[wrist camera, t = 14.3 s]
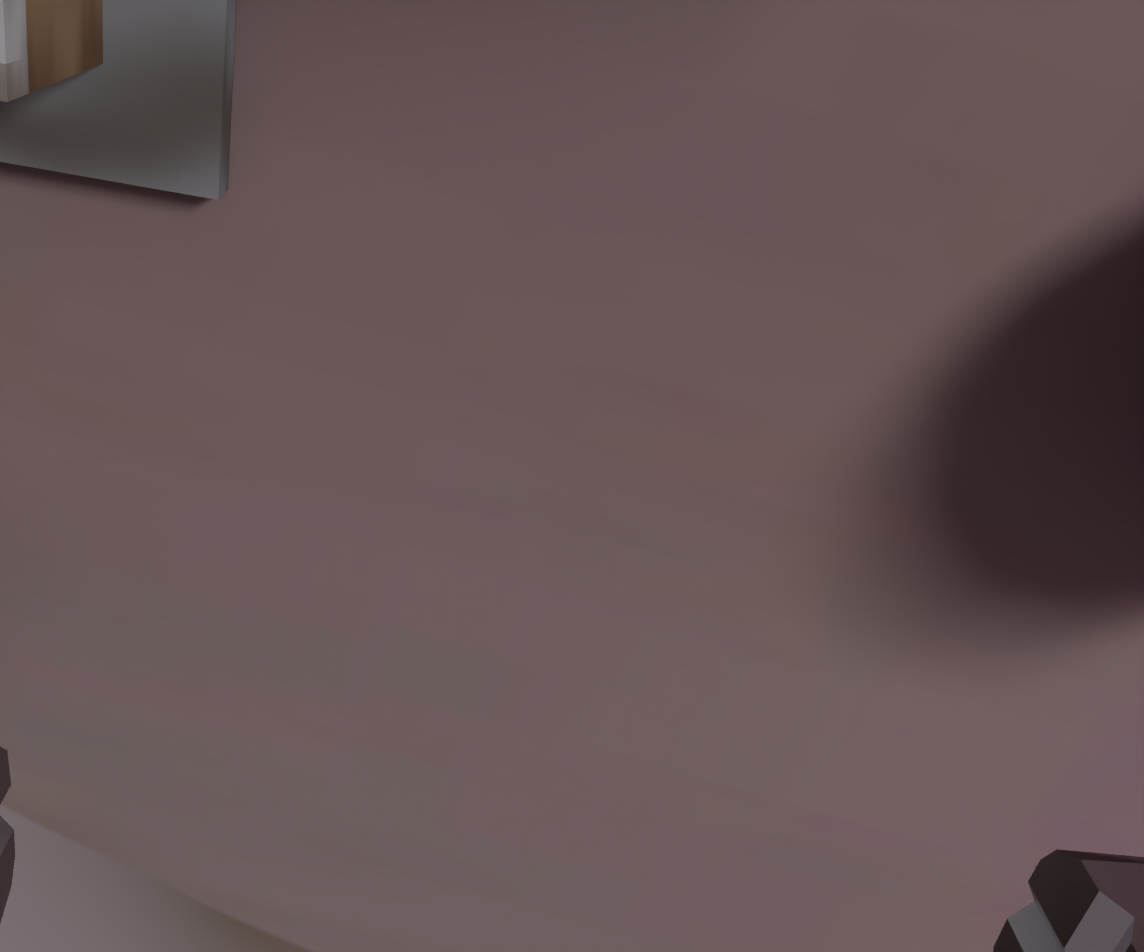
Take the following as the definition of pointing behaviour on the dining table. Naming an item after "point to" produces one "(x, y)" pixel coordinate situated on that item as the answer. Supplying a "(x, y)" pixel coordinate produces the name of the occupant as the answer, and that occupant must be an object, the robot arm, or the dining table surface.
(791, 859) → the dining table surface
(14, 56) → the display riser
